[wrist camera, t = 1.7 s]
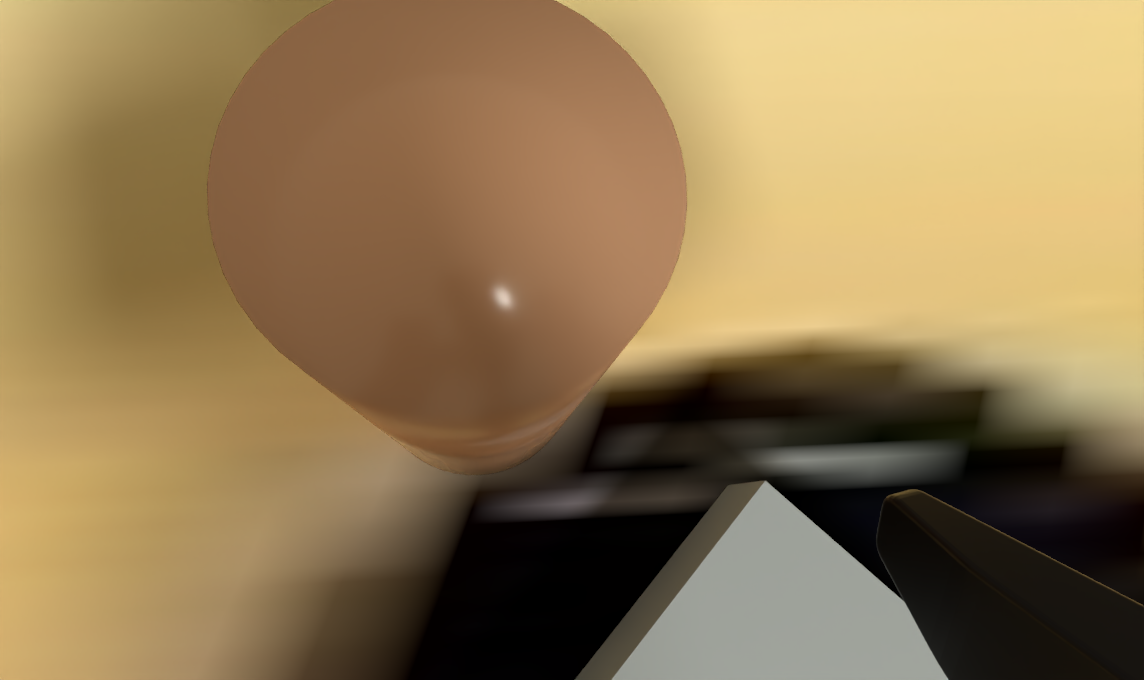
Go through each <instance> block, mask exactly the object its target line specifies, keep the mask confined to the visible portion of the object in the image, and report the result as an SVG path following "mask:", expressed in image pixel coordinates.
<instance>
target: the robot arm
mask: <svg viewBox="0 0 1144 680" xmlns="http://www.w3.org/2000/svg"><path fill="white" fill-rule="evenodd" d="M876 544H877V549H878V552H879V555H880V557H881V559H882V561H883V563H884V565H885V567H886V568H887V570H888V572H889V574H890V576H891V578H892V580H893V582H894V583H895V585H896V587H897V589H898V591H899V593H900V595H901V596H902V598H903V600H904V602H905V604H906V606H907V608H908V609H909V611H910V613H911V615H912V617H913V619H914V621H915V622H916V624H917V626H918V628H919V630H920V632H921V634H922V636H923V637H924V639H925V641H926V643H927V645H928V647H929V648H930V650H931V652H932V654H933V655H934V657H935V659H936V661H937V662H938V664H939V666H940V667H941V669H942V670H943V672H944V674H945V675H946V677H947V678H948V680H1144V606H1143V605H1141V604H1139V603H1137V602H1136V601H1134V600H1132V599H1130V598H1128V597H1126V596H1124V595H1122V594H1120V593H1118V592H1116V591H1114V590H1112V589H1110V588H1108V587H1107V586H1105V585H1103V584H1101V583H1099V582H1097V581H1095V580H1093V579H1091V578H1089V577H1087V576H1085V575H1083V574H1081V573H1079V572H1078V571H1076V570H1074V569H1072V568H1070V567H1068V566H1066V565H1064V564H1062V563H1060V562H1058V561H1056V560H1054V559H1052V558H1050V557H1049V556H1047V555H1045V554H1043V553H1041V552H1039V551H1037V550H1035V549H1033V548H1031V547H1029V546H1027V545H1025V544H1023V543H1021V542H1019V541H1018V540H1016V539H1014V538H1012V537H1010V536H1008V535H1006V534H1004V533H1002V532H1000V531H998V530H996V529H994V528H992V527H990V526H989V525H987V524H985V523H983V522H981V521H979V520H977V519H975V518H973V517H971V516H969V515H967V514H965V513H963V512H961V511H960V510H958V509H956V508H954V507H952V506H950V505H948V504H946V503H944V502H942V501H940V500H938V499H936V498H934V497H932V496H931V495H929V494H927V493H925V492H922V491H919V490H915V489H913V490H907V491H903V492H899V493H896V494H892V495H889V496H887V497H886V499H885V500H884V502H883V505H882V510H881V515H880V520H879V525H878V531H877V536H876Z"/></svg>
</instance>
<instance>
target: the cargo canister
mask: <svg viewBox="0 0 1144 680" xmlns="http://www.w3.org/2000/svg"><path fill="white" fill-rule="evenodd" d="M207 193H208V216H209V222H210V227H211V233H212V238H213V244H214V247H215V250H216V253H217V256H218V259H219V262H220V265H221V268H222V271H223V274H224V276H225V278H226V280H227V281H228V283H229V285H230V287H231V289H232V291H233V293H234V295H235V297H236V299H237V301H238V303H239V304H240V305H241V307H242V308H243V310H244V311H245V312H246V314H247V315H248V317H249V318H250V319H251V321H252V322H253V324H254V325H255V326H256V328H257V329H258V330H259V331H260V332H261V333H262V334H263V335H264V336H265V337H266V338H267V339H268V340H269V341H270V342H271V344H272V345H273V346H274V347H275V348H276V349H277V350H278V351H279V352H280V353H282V354H283V355H284V356H286V357H287V358H288V359H289V360H291V361H292V362H293V363H294V364H296V365H297V366H298V367H299V368H301V369H302V370H303V371H304V372H306V373H307V374H308V375H310V376H311V377H312V378H314V379H315V380H316V381H318V382H319V383H320V384H321V385H323V386H324V387H325V388H327V389H328V390H329V391H331V392H332V393H333V394H335V395H336V396H337V397H339V398H340V399H341V400H342V401H344V402H345V403H346V404H348V405H349V406H350V407H352V408H353V409H354V410H356V411H357V412H358V413H360V414H361V415H362V416H363V417H365V418H366V419H367V420H369V421H370V422H371V423H373V424H374V425H375V426H377V427H378V428H379V429H381V430H382V431H383V432H384V433H386V434H387V435H388V436H390V437H391V438H392V439H394V440H395V441H396V442H398V443H399V444H400V445H402V446H403V447H404V448H405V449H407V450H408V451H409V452H411V453H412V454H413V455H415V456H416V457H417V458H419V459H420V460H422V461H424V462H426V463H427V464H429V465H431V466H433V467H436V468H438V469H441V470H444V471H447V472H451V473H455V474H463V475H485V474H493V473H497V472H501V471H504V470H507V469H510V468H512V467H515V466H517V465H519V464H521V463H523V462H524V461H526V460H528V459H530V458H531V457H532V456H534V455H535V454H536V453H537V452H539V451H540V450H541V449H542V448H543V447H544V446H545V445H546V444H547V443H548V442H549V441H550V440H551V438H552V437H553V436H554V435H555V434H556V432H557V431H558V430H559V429H560V427H561V426H562V425H563V424H564V422H565V421H566V420H567V419H568V417H569V416H570V415H571V414H572V412H573V411H574V410H575V409H576V408H577V406H578V405H579V404H580V403H581V401H582V400H583V399H584V398H585V396H586V395H587V394H588V393H589V391H590V390H591V389H592V388H593V386H594V385H595V384H596V383H597V381H598V380H599V379H600V378H601V377H602V375H603V374H604V373H605V372H606V370H607V369H608V368H609V367H610V365H611V364H612V363H613V362H614V360H615V359H616V358H617V357H618V355H619V354H620V353H621V352H622V351H623V349H624V348H625V347H626V346H627V344H628V343H629V342H630V341H631V339H632V338H633V337H634V336H635V334H636V333H637V332H638V330H639V329H640V328H641V327H642V325H643V324H644V323H645V321H646V320H647V319H648V317H649V316H650V315H651V314H652V312H653V310H654V309H655V307H656V305H657V303H658V302H659V300H660V298H661V296H662V295H663V293H664V291H665V289H666V288H667V285H668V283H669V280H670V278H671V275H672V273H673V270H674V268H675V265H676V263H677V260H678V256H679V252H680V248H681V244H682V240H683V236H684V230H685V220H686V210H687V191H686V174H685V169H684V163H683V158H682V152H681V148H680V145H679V141H678V138H677V135H676V132H675V129H674V126H673V123H672V121H671V119H670V117H669V114H668V112H667V110H666V108H665V106H664V104H663V102H662V100H661V98H660V96H659V95H658V93H657V91H656V90H655V88H654V87H653V85H652V84H651V82H650V81H649V79H648V77H647V76H646V74H645V73H644V72H643V71H642V70H641V68H640V67H639V66H638V65H637V64H636V62H635V61H634V60H633V59H632V58H631V56H630V55H629V54H628V53H627V52H626V51H625V50H624V49H623V48H622V47H621V46H620V45H619V44H618V43H616V42H615V41H614V40H613V39H612V38H611V37H610V36H609V35H608V34H607V33H605V32H604V31H603V30H601V29H600V28H599V27H597V26H596V25H595V24H593V23H592V22H591V21H589V20H588V19H586V18H585V17H584V16H582V15H580V14H578V13H577V12H575V11H573V10H571V9H570V8H568V7H566V6H564V5H563V4H561V3H559V2H557V1H554V0H334V1H332V2H331V3H329V4H327V5H325V6H323V7H322V8H320V9H318V10H316V11H314V12H313V13H311V14H309V15H307V16H306V17H305V18H303V19H302V20H301V21H299V22H298V23H296V24H295V25H294V26H292V27H291V28H290V29H288V30H287V31H285V32H284V33H283V34H282V35H281V36H280V37H279V38H278V39H277V40H276V41H275V42H274V43H273V44H272V45H271V46H269V47H268V48H267V49H266V50H265V51H264V52H263V53H262V55H261V56H260V57H259V58H258V60H257V61H256V62H255V63H254V64H253V66H252V67H251V68H250V69H249V71H248V72H247V73H246V74H245V76H244V77H243V79H242V81H241V82H240V84H239V86H238V87H237V89H236V91H235V92H234V94H233V96H232V97H231V99H230V101H229V103H228V105H227V108H226V110H225V112H224V115H223V117H222V119H221V122H220V124H219V126H218V130H217V134H216V137H215V141H214V145H213V149H212V152H211V157H210V165H209V174H208V182H207Z"/></svg>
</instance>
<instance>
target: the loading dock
mask: <svg viewBox="0 0 1144 680" xmlns="http://www.w3.org/2000/svg"><path fill="white" fill-rule="evenodd" d="M575 680H948V678H947V677H946V675H945V674H944V672H943V670H942V669H941V667H940V666H939V664H938V662H937V661H936V659H935V657H934V655H933V654H932V652H931V650H930V648H929V647H928V645H927V643H926V641H925V639H924V637H923V636H922V634H921V632H920V630H919V628H918V626H917V624H916V622H915V621H914V619H913V617H912V615H911V613H910V611H909V609H908V608H907V606H906V604H905V602H904V601H903V600H902V599H900V598H899V597H898V596H897V595H896V594H895V593H894V592H892V591H891V590H890V589H889V588H888V587H887V586H886V585H884V584H883V583H882V582H881V581H880V580H879V579H878V578H876V577H875V576H874V575H873V574H872V573H871V572H869V571H868V570H867V569H866V568H865V567H864V566H863V565H861V564H860V563H859V562H858V561H857V560H856V559H855V558H853V557H852V556H851V555H850V554H849V553H848V552H847V551H845V550H844V549H843V548H842V547H841V546H840V545H839V544H837V543H836V542H835V541H834V540H833V539H832V538H831V537H829V536H828V535H827V534H826V533H825V532H824V531H823V530H821V529H820V528H819V527H818V526H817V525H816V524H815V523H813V522H812V521H811V520H810V519H809V518H808V517H806V516H805V515H804V514H803V513H802V512H801V511H800V510H798V509H797V508H796V507H795V506H794V505H793V504H792V503H790V502H789V501H788V500H787V499H786V498H785V497H784V496H782V495H781V494H780V493H779V492H778V491H777V490H776V489H774V488H773V487H772V486H771V485H770V484H769V483H768V482H766V481H757V482H749V483H741V484H732V485H728V486H727V487H726V488H725V490H724V491H723V492H722V493H721V495H720V496H719V497H718V498H717V500H716V501H715V502H714V504H713V505H712V506H711V507H710V509H709V510H708V511H707V512H706V514H705V515H704V516H703V518H702V519H701V520H700V521H699V523H698V524H697V525H696V526H695V528H694V529H693V530H692V531H691V533H690V534H689V535H688V537H687V538H686V539H685V540H684V542H683V543H682V544H681V545H680V547H679V548H678V549H677V551H676V552H675V553H674V554H673V556H672V557H671V558H670V559H669V561H668V562H667V563H666V565H665V566H664V567H663V568H662V570H661V571H660V572H659V573H658V575H657V576H656V577H655V578H654V580H653V581H652V582H651V584H650V585H649V586H648V587H647V589H646V590H645V591H644V592H643V594H642V595H641V596H640V598H639V599H638V600H637V601H636V603H635V604H634V605H633V606H632V608H631V609H630V610H629V612H628V613H627V614H626V615H625V617H624V618H623V619H622V620H621V622H620V623H619V624H618V625H617V627H616V628H615V629H614V631H613V632H612V633H611V634H610V636H609V637H608V638H607V639H606V641H605V642H604V643H603V645H602V646H601V647H600V648H599V650H598V651H597V652H596V653H595V655H594V656H593V657H592V659H591V660H590V661H589V662H588V664H587V665H586V666H585V667H584V669H583V670H582V671H581V672H580V674H579V675H578V676H577V678H576V679H575Z"/></svg>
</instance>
